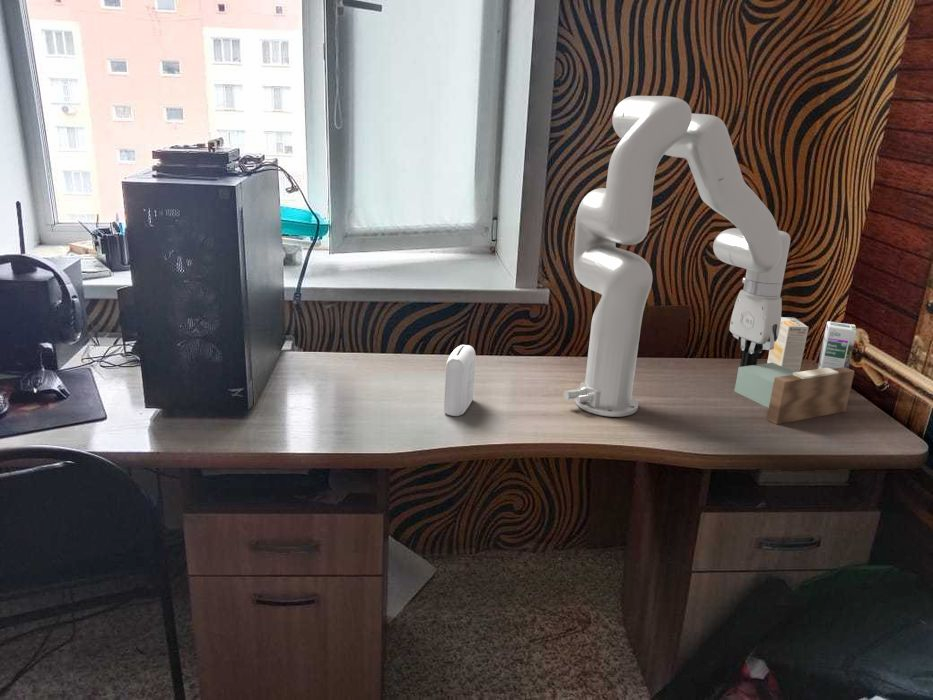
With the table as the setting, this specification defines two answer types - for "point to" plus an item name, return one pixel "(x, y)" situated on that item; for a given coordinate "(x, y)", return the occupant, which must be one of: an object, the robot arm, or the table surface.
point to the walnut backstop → (809, 394)
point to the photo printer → (459, 380)
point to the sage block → (759, 381)
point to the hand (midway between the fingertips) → (747, 368)
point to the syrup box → (837, 345)
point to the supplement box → (789, 344)
